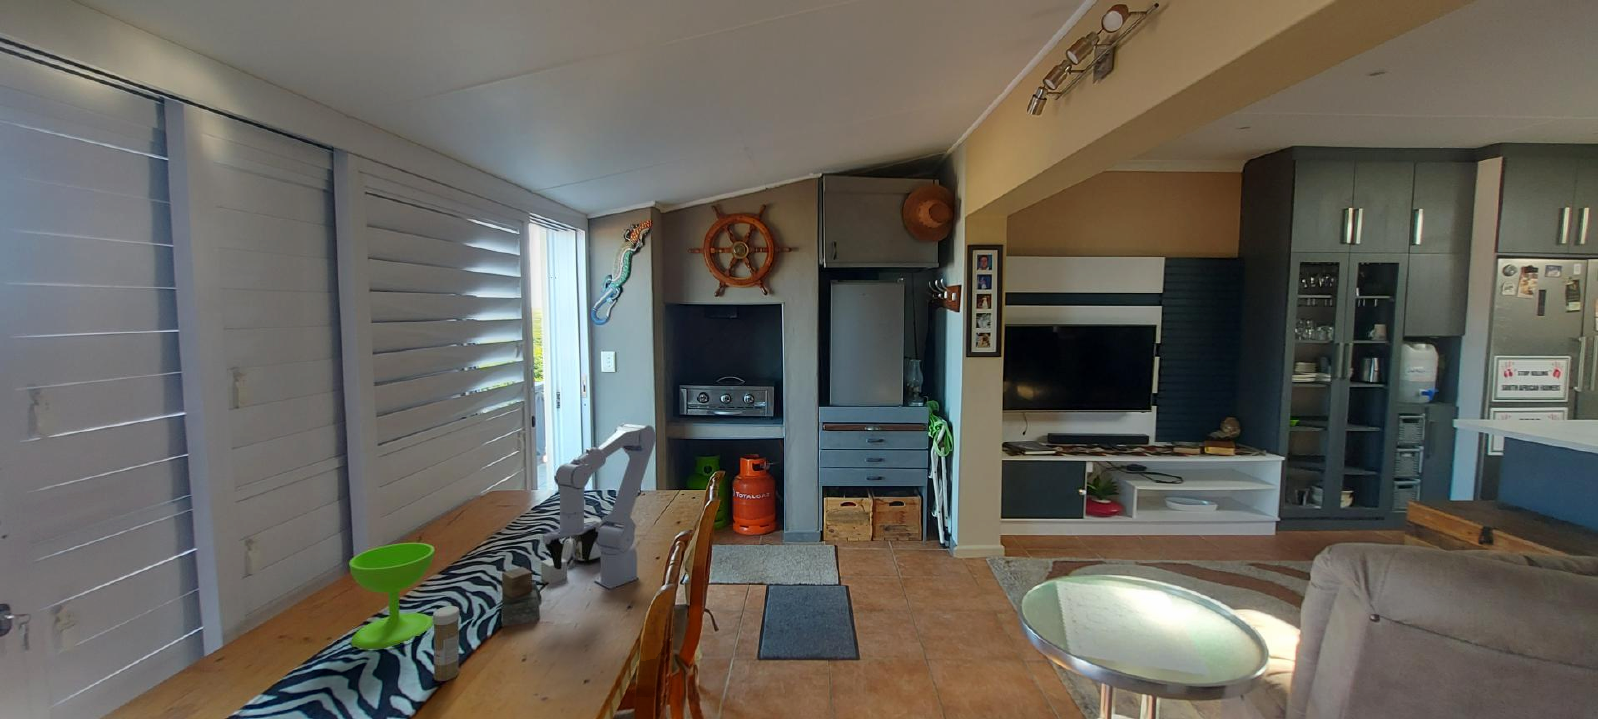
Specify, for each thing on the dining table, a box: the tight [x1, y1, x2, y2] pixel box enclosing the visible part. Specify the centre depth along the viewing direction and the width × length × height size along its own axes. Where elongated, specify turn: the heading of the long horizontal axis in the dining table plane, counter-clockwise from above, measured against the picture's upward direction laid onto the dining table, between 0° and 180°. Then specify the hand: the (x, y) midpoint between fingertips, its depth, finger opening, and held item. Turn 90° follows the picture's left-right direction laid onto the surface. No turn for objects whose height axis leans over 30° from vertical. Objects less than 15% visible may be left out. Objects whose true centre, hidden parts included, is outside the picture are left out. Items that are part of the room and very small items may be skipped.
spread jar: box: [562, 517, 602, 565], centre depth 180 cm, size 12×11×12 cm
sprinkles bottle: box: [432, 605, 460, 682], centre depth 119 cm, size 5×5×13 cm
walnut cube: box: [501, 566, 533, 599], centre depth 147 cm, size 5×5×5 cm
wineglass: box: [348, 542, 435, 650], centre depth 135 cm, size 16×16×18 cm
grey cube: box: [540, 557, 568, 584], centre depth 167 cm, size 5×5×5 cm
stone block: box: [501, 580, 542, 628], centre depth 148 cm, size 9×14×5 cm, turn 25°
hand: (571, 563), depth 151 cm, fingers open, 7 cm apart
